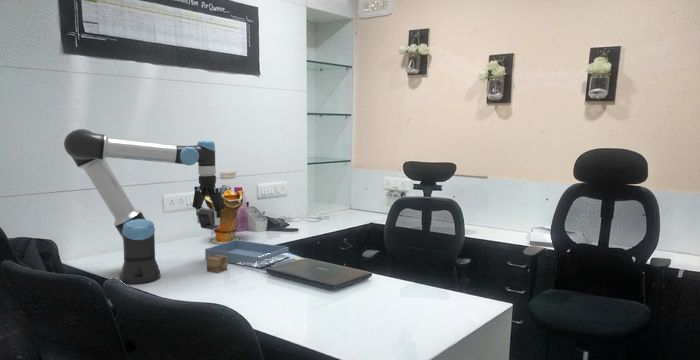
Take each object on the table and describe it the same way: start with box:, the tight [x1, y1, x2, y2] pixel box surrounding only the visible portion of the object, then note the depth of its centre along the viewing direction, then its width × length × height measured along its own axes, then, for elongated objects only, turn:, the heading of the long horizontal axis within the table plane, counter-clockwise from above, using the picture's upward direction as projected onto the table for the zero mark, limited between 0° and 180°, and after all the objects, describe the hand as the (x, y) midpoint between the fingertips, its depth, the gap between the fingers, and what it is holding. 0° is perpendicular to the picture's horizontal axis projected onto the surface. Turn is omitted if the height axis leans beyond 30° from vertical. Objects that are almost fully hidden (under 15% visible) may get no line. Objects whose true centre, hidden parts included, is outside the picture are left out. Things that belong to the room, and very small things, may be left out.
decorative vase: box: [204, 189, 245, 245], centre depth 265 cm, size 21×23×28 cm
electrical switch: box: [196, 207, 220, 231], centre depth 221 cm, size 9×5×9 cm, turn 57°
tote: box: [204, 240, 290, 265], centre depth 230 cm, size 22×32×5 cm
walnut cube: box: [206, 255, 228, 274], centre depth 210 cm, size 6×6×6 cm
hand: (208, 223), depth 221 cm, fingers closed on electrical switch, 9 cm apart
